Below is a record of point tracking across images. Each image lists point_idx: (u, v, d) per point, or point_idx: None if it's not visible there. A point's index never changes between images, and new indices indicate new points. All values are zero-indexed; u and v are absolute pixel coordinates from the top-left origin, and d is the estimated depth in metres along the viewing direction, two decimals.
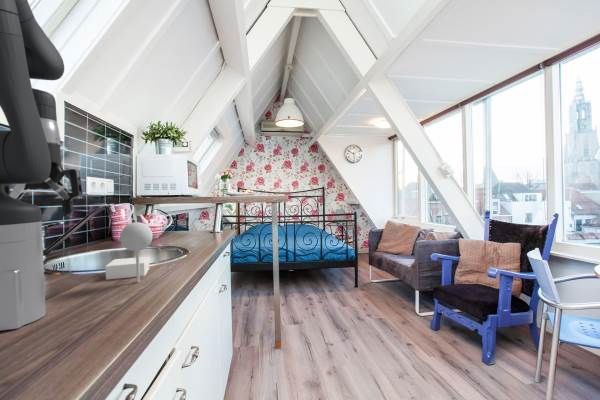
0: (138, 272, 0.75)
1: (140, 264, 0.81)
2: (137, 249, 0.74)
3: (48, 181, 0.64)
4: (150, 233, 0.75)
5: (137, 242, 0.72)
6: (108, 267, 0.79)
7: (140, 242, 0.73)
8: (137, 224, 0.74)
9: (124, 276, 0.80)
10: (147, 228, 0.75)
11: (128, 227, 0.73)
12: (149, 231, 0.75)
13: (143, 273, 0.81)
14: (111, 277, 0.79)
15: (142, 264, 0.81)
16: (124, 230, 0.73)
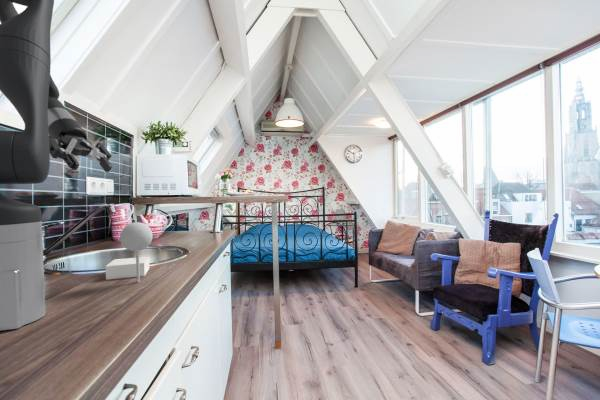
0: (138, 272, 0.75)
1: (140, 264, 0.81)
2: (137, 249, 0.74)
3: (89, 145, 0.82)
4: (150, 233, 0.75)
5: (137, 242, 0.72)
6: (108, 267, 0.79)
7: (140, 242, 0.73)
8: (137, 224, 0.74)
9: (124, 276, 0.80)
10: (147, 228, 0.75)
11: (128, 227, 0.73)
12: (149, 231, 0.75)
13: (143, 273, 0.81)
14: (111, 277, 0.79)
15: (142, 264, 0.81)
16: (124, 230, 0.73)
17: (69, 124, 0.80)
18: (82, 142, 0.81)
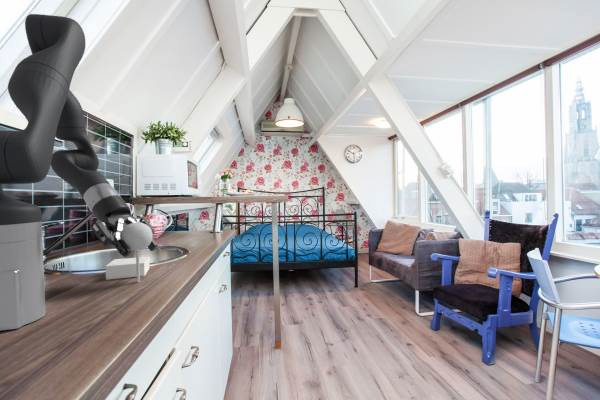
0: (138, 272, 0.75)
1: (140, 264, 0.81)
2: (137, 249, 0.74)
3: (134, 222, 0.78)
4: (150, 233, 0.75)
5: (137, 242, 0.72)
6: (108, 267, 0.79)
7: (140, 242, 0.73)
8: (137, 224, 0.74)
9: (124, 276, 0.80)
10: (147, 228, 0.75)
11: (128, 227, 0.73)
12: (149, 231, 0.75)
13: (143, 273, 0.81)
14: (111, 277, 0.79)
15: (142, 264, 0.81)
16: (124, 230, 0.73)
17: (115, 203, 0.76)
18: (127, 220, 0.77)
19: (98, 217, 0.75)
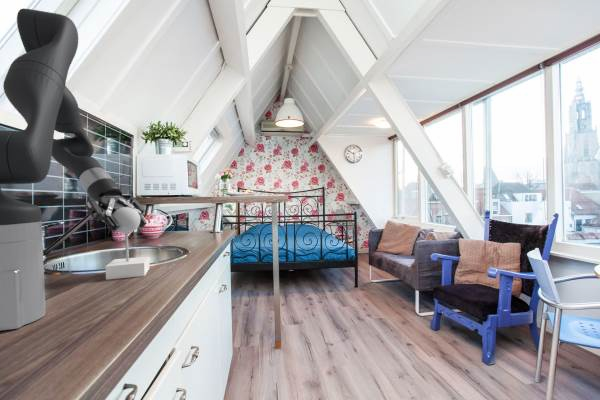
0: (127, 252, 0.84)
1: (140, 264, 0.81)
2: (126, 231, 0.82)
3: (125, 202, 0.87)
4: (138, 217, 0.84)
5: (125, 224, 0.81)
6: (108, 267, 0.79)
7: (128, 224, 0.81)
8: (126, 209, 0.82)
9: (124, 276, 0.80)
10: (135, 212, 0.83)
11: (118, 211, 0.81)
12: (137, 215, 0.83)
13: (143, 273, 0.81)
14: (111, 277, 0.79)
15: (142, 264, 0.81)
16: (114, 214, 0.81)
17: (107, 184, 0.85)
18: (119, 200, 0.86)
19: (92, 197, 0.83)
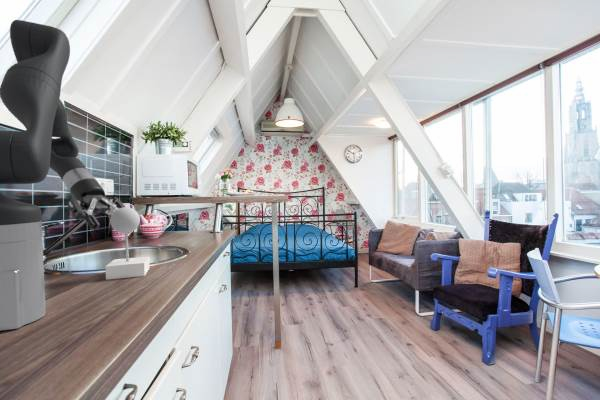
0: (127, 252, 0.84)
1: (140, 264, 0.81)
2: (126, 231, 0.82)
3: (107, 202, 0.90)
4: (137, 217, 0.84)
5: (125, 224, 0.81)
6: (108, 267, 0.79)
7: (128, 224, 0.81)
8: (125, 209, 0.82)
9: (124, 276, 0.80)
10: (134, 212, 0.83)
11: (117, 211, 0.81)
12: (136, 215, 0.83)
13: (143, 273, 0.81)
14: (111, 277, 0.79)
15: (142, 264, 0.81)
16: (113, 214, 0.81)
17: (89, 184, 0.87)
18: (101, 200, 0.89)
19: (75, 197, 0.86)
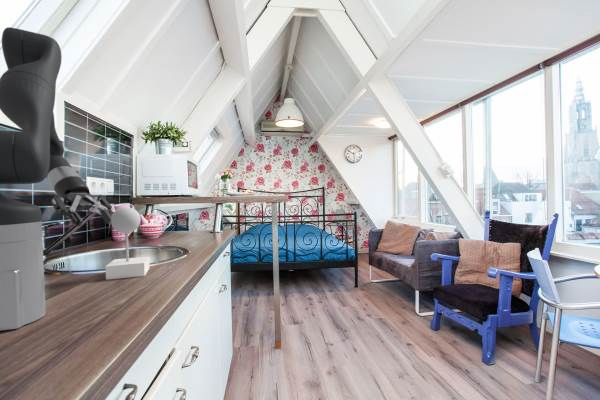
0: (127, 252, 0.84)
1: (140, 264, 0.81)
2: (126, 231, 0.82)
3: (91, 199, 0.91)
4: (138, 217, 0.84)
5: (125, 224, 0.81)
6: (108, 267, 0.79)
7: (129, 224, 0.81)
8: (126, 209, 0.82)
9: (124, 276, 0.80)
10: (135, 212, 0.83)
11: (118, 211, 0.81)
12: (137, 215, 0.84)
13: (143, 273, 0.81)
14: (111, 277, 0.79)
15: (142, 264, 0.81)
16: (114, 214, 0.81)
17: (73, 182, 0.89)
18: (85, 197, 0.90)
19: (59, 194, 0.87)
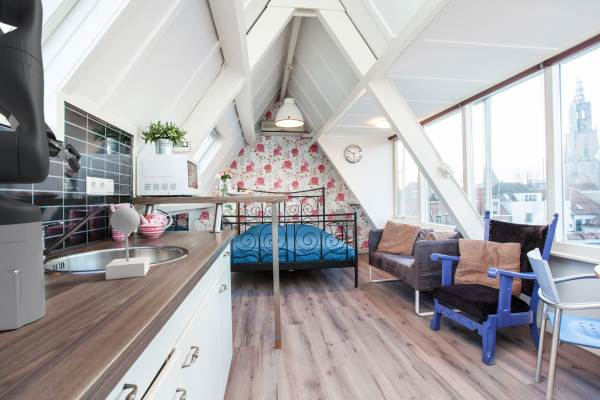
0: (127, 252, 0.84)
1: (140, 264, 0.81)
2: (126, 231, 0.82)
3: (57, 146, 0.83)
4: (137, 217, 0.84)
5: (125, 224, 0.81)
6: (108, 267, 0.79)
7: (128, 224, 0.81)
8: (125, 209, 0.82)
9: (124, 276, 0.80)
10: (135, 212, 0.83)
11: (117, 211, 0.81)
12: (136, 215, 0.83)
13: (143, 273, 0.81)
14: (111, 277, 0.79)
15: (142, 264, 0.81)
16: (114, 214, 0.81)
17: None
18: (50, 143, 0.82)
19: None
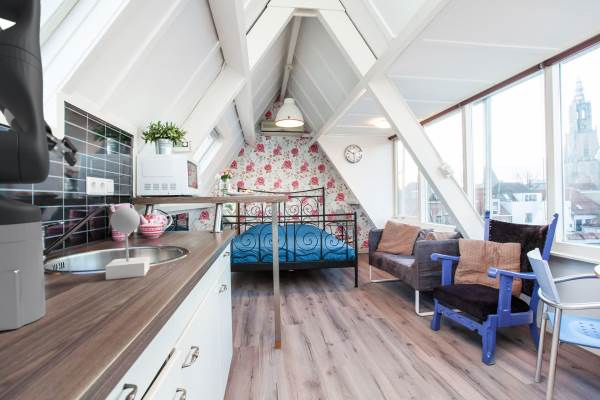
0: (127, 252, 0.84)
1: (140, 264, 0.81)
2: (126, 231, 0.82)
3: (53, 139, 0.82)
4: (137, 217, 0.84)
5: (125, 224, 0.81)
6: (108, 267, 0.79)
7: (128, 224, 0.81)
8: (125, 209, 0.82)
9: (124, 276, 0.80)
10: (134, 212, 0.83)
11: (117, 211, 0.81)
12: (136, 215, 0.83)
13: (143, 273, 0.81)
14: (111, 277, 0.79)
15: (142, 264, 0.81)
16: (113, 214, 0.81)
17: None
18: None
19: (15, 131, 0.79)
